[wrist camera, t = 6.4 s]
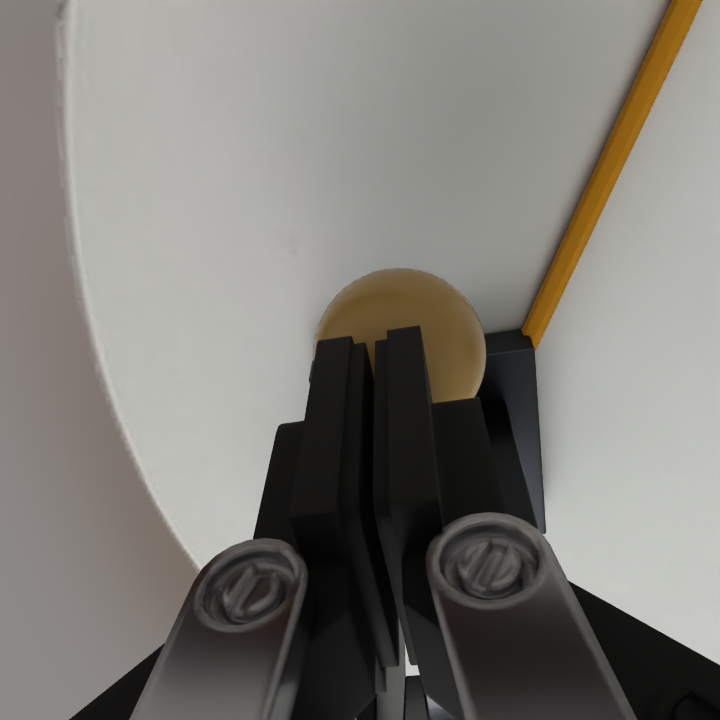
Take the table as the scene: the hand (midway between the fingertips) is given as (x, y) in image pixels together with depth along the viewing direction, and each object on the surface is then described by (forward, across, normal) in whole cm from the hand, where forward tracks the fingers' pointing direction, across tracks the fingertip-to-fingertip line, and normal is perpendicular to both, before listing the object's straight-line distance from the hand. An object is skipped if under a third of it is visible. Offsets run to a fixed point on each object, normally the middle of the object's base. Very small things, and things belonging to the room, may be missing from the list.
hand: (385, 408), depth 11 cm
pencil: (+10, -5, +2) cm, 11 cm away
